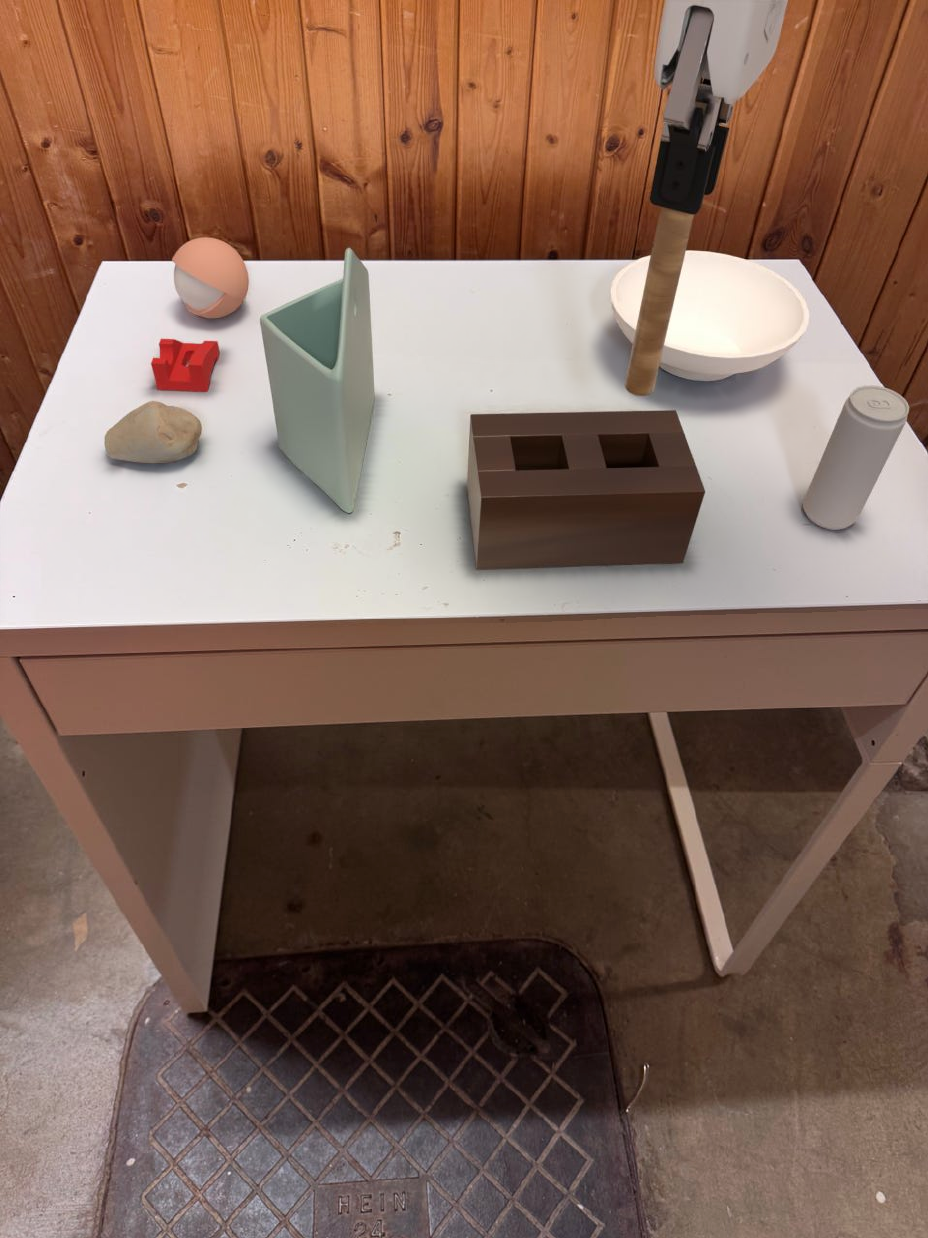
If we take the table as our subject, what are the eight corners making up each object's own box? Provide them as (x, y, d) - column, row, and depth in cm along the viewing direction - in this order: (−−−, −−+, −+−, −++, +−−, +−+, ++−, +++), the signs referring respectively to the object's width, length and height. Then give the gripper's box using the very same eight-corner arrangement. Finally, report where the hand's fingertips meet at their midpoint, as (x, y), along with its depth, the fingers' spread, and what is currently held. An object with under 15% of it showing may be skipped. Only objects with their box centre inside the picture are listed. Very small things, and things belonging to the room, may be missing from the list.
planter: (294, 393, 90) (269, 192, 75) (375, 398, 90) (365, 198, 75) (261, 508, 80) (224, 300, 65) (353, 513, 80) (336, 307, 65)
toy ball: (166, 307, 99) (149, 236, 93) (229, 284, 103) (217, 215, 97) (203, 341, 96) (188, 270, 90) (267, 316, 99) (257, 246, 93)
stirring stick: (657, 383, 70) (723, 100, 55) (648, 399, 69) (713, 113, 53) (630, 375, 71) (688, 92, 55) (620, 390, 69) (676, 105, 54)
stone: (156, 503, 84) (213, 443, 81) (94, 461, 80) (152, 398, 77) (159, 465, 89) (213, 409, 86) (101, 425, 85) (155, 365, 83)
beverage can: (794, 495, 83) (841, 383, 74) (847, 496, 84) (900, 384, 74) (808, 532, 80) (858, 420, 71) (863, 533, 80) (919, 422, 71)
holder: (683, 563, 77) (705, 491, 71) (476, 569, 76) (481, 497, 70) (657, 481, 84) (676, 409, 78) (466, 486, 83) (470, 413, 77)
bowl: (594, 403, 91) (604, 343, 86) (605, 299, 104) (615, 240, 98) (795, 428, 90) (818, 368, 84) (782, 319, 102) (801, 261, 97)
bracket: (207, 391, 90) (201, 365, 88) (157, 389, 90) (150, 363, 88) (219, 353, 94) (214, 327, 92) (172, 351, 94) (166, 325, 92)
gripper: (802, -137, 39) (701, 270, 53) (873, -197, 48) (770, 163, 62) (634, -162, 41) (579, 237, 55) (733, -215, 50) (665, 138, 64)
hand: (682, 195), depth 59 cm, fingers closed on stirring stick, 2 cm apart
